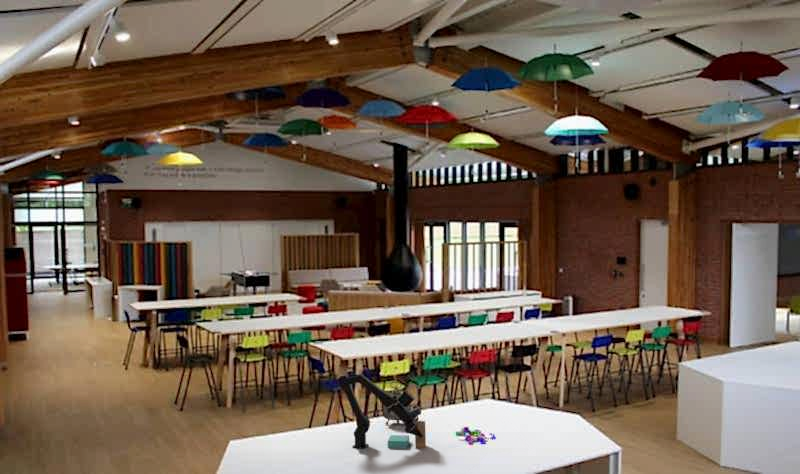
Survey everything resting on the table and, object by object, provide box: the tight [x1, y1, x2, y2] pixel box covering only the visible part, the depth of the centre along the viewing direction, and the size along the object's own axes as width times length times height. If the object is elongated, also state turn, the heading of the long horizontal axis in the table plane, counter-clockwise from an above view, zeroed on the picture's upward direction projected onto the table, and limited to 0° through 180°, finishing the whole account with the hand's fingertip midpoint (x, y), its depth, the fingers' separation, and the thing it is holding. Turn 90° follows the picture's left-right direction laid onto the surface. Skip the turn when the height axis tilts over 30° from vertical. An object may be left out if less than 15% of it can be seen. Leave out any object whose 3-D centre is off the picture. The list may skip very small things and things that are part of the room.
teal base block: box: [387, 434, 410, 449], centre depth 357 cm, size 10×10×4 cm
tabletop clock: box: [382, 381, 411, 427], centre depth 396 cm, size 14×9×25 cm, turn 73°
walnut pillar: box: [414, 420, 427, 450], centre depth 354 cm, size 5×5×13 cm
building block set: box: [454, 426, 496, 445], centre depth 369 cm, size 25×20×4 cm
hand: (422, 434), depth 353 cm, fingers open, 9 cm apart
